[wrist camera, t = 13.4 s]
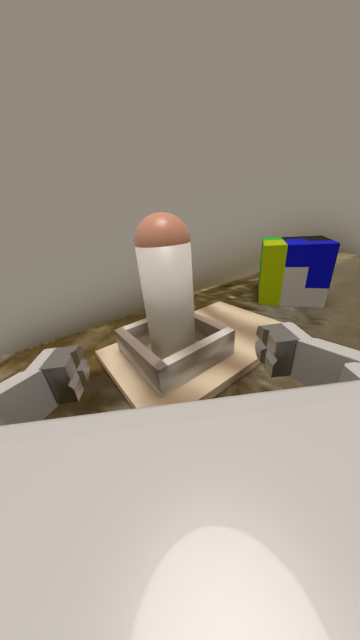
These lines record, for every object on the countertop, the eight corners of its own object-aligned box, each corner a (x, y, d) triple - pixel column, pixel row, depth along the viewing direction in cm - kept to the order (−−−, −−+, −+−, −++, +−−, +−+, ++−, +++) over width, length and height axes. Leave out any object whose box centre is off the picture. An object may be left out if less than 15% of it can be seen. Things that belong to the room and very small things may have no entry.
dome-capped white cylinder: (188, 338, 27) (180, 211, 21) (202, 360, 23) (197, 208, 16) (150, 346, 26) (128, 215, 19) (156, 371, 22) (131, 213, 15)
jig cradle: (219, 306, 38) (219, 285, 36) (299, 335, 27) (305, 306, 26) (97, 357, 26) (88, 330, 24) (155, 439, 16) (147, 402, 14)
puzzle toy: (324, 308, 34) (340, 243, 30) (258, 305, 37) (264, 245, 33) (310, 288, 43) (321, 235, 38) (258, 287, 46) (262, 238, 41)
